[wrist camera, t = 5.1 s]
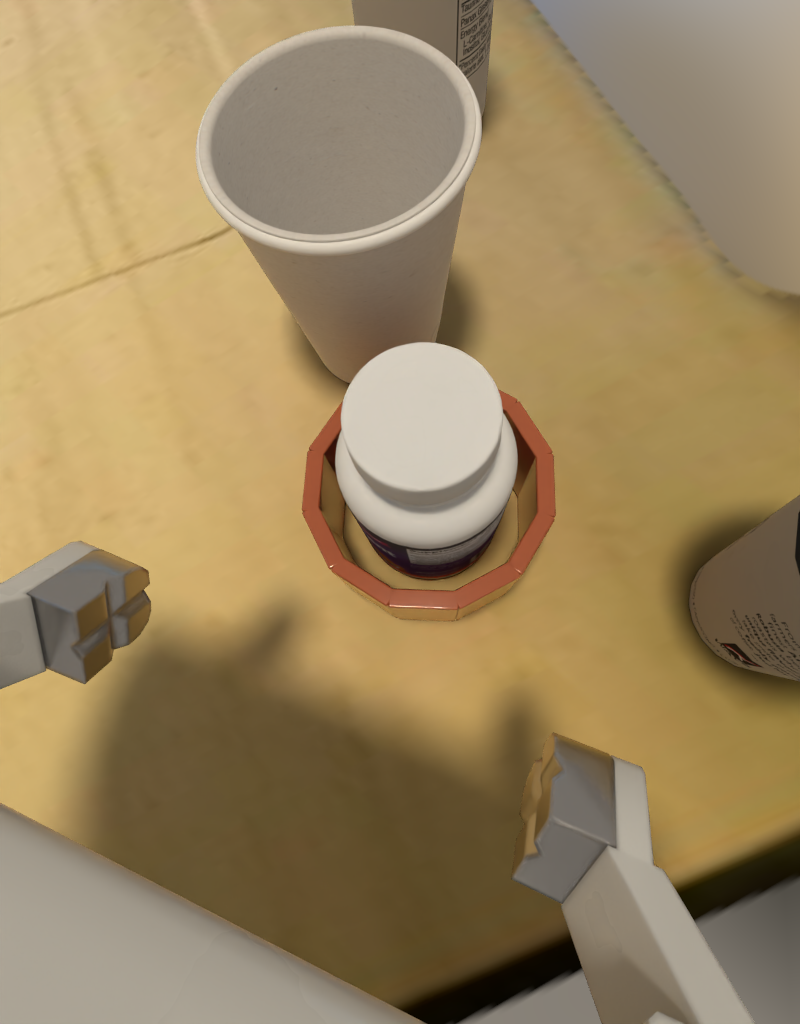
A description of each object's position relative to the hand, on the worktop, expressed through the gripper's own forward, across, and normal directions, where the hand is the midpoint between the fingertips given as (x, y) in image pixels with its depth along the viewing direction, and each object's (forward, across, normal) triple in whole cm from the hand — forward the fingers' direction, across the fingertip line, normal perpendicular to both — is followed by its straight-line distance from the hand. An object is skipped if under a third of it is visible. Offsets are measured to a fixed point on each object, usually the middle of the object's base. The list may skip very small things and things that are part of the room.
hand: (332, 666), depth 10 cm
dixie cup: (+18, +6, -2) cm, 19 cm away
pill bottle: (+12, +1, +4) cm, 13 cm away
